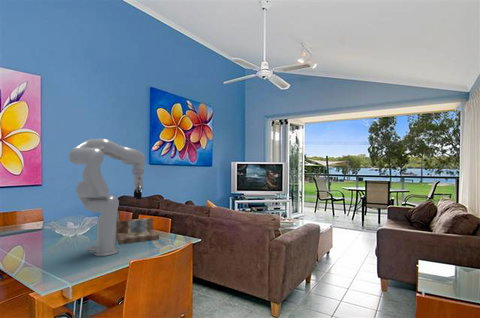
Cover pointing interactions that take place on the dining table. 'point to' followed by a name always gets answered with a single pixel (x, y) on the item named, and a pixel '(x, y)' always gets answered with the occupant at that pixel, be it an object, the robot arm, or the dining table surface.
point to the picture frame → (137, 227)
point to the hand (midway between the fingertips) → (137, 198)
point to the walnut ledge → (124, 238)
